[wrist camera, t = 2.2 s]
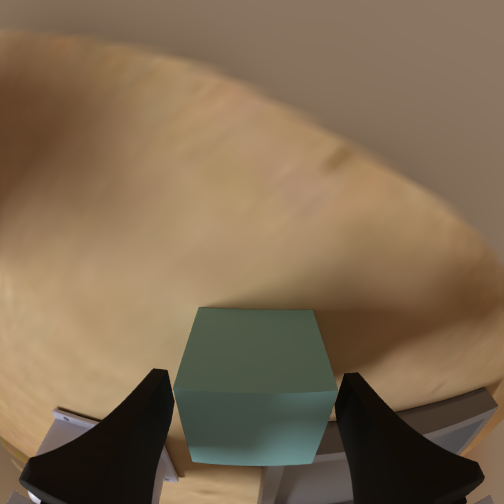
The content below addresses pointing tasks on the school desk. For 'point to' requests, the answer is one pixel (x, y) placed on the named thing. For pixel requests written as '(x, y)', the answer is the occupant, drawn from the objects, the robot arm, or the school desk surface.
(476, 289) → the school desk surface
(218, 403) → the teal cube
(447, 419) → the charcoal tray
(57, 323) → the school desk surface
